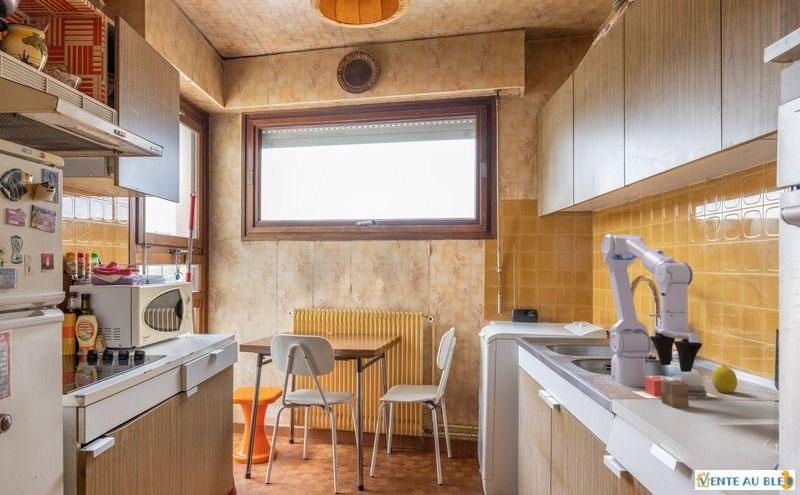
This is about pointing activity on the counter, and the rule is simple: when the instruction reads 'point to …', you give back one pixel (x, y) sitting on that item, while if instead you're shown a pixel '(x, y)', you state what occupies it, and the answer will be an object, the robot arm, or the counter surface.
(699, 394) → the game board
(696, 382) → the dome
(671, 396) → the brown block
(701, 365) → the counter surface
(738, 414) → the counter surface
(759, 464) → the counter surface
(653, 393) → the die
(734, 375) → the lemon
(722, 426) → the counter surface
